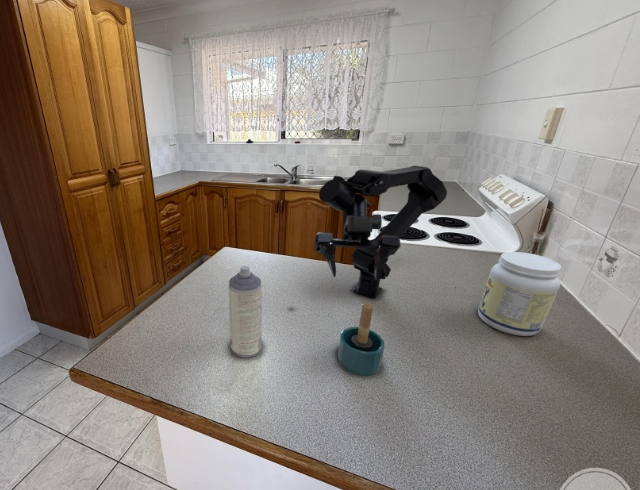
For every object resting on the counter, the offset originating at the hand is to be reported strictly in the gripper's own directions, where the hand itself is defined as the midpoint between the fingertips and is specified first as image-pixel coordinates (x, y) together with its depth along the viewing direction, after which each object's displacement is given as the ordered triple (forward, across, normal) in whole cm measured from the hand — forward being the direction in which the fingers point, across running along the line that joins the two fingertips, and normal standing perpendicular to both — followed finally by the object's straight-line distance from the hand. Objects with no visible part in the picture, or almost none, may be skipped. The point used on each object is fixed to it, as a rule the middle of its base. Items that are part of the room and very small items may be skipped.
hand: (355, 278), depth 71 cm
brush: (+17, +1, +1) cm, 17 cm away
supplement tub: (+4, +38, +16) cm, 42 cm away
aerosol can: (+18, -24, +2) cm, 30 cm away
